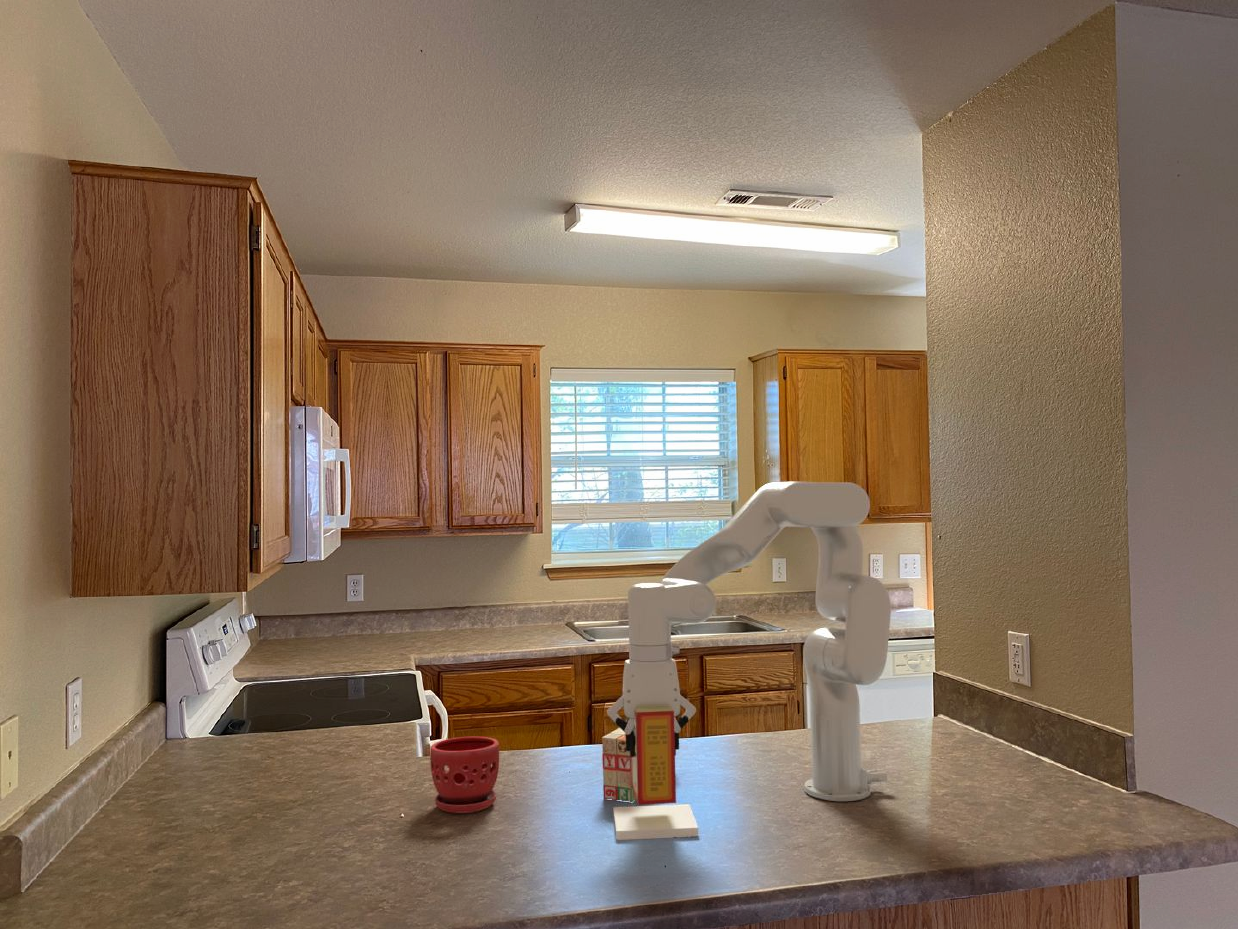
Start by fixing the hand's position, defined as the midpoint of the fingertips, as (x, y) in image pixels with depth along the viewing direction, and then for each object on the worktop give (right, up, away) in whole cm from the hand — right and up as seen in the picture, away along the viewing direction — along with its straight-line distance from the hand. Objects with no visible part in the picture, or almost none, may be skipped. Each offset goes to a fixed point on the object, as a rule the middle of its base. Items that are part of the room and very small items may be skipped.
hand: (652, 753), depth 159 cm
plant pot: (-35, -14, +13) cm, 40 cm away
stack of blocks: (-2, -14, +22) cm, 27 cm away
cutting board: (0, -13, 0) cm, 13 cm away
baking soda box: (0, -7, 0) cm, 7 cm away
